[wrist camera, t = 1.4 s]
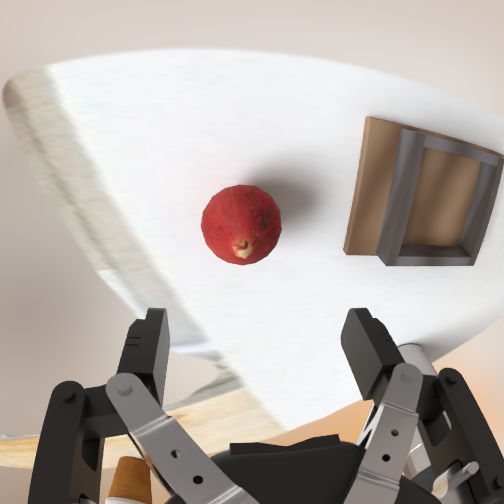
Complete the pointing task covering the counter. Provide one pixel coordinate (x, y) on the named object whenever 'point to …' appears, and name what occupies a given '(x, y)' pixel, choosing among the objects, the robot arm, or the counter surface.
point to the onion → (241, 224)
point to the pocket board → (421, 197)
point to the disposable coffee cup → (131, 483)
